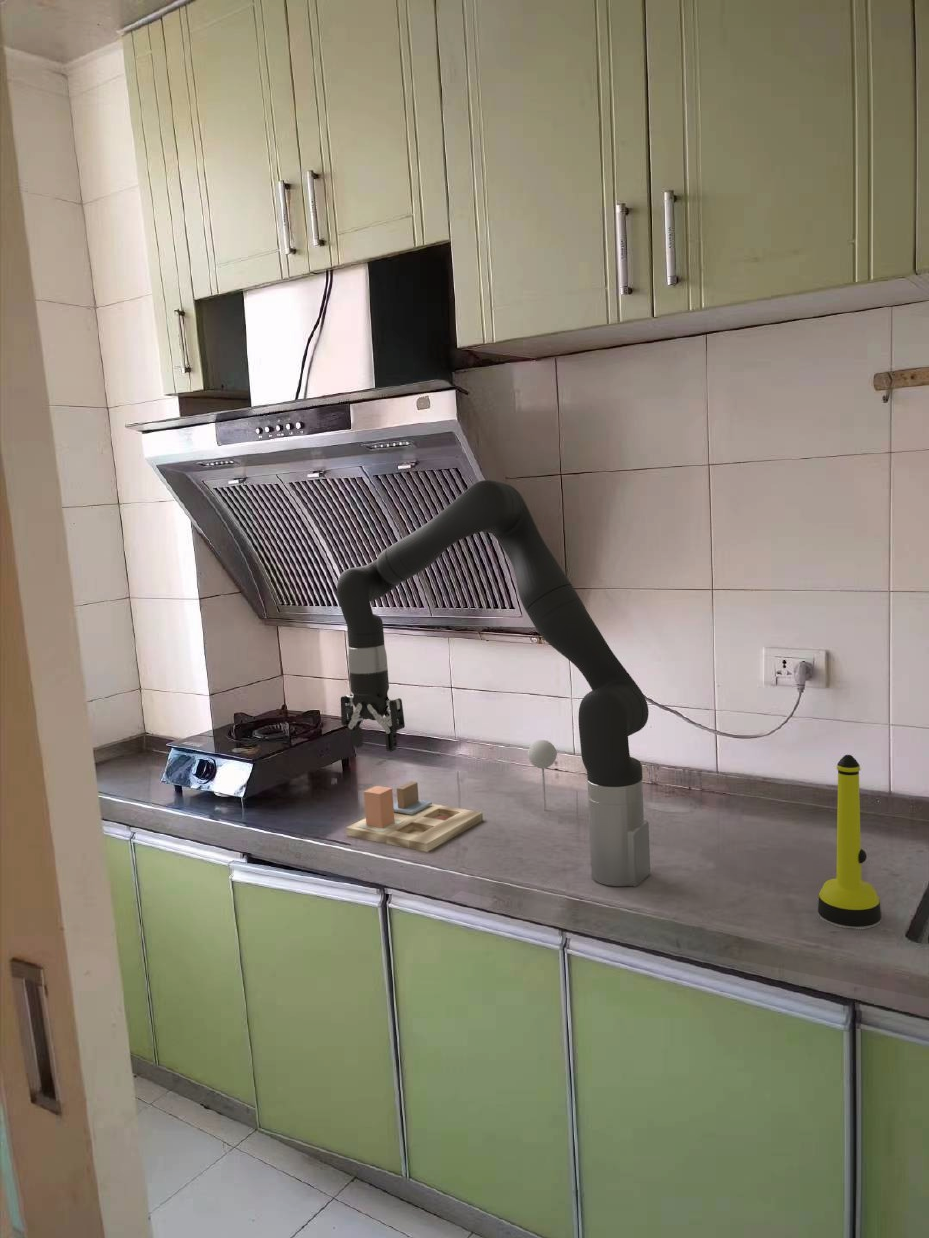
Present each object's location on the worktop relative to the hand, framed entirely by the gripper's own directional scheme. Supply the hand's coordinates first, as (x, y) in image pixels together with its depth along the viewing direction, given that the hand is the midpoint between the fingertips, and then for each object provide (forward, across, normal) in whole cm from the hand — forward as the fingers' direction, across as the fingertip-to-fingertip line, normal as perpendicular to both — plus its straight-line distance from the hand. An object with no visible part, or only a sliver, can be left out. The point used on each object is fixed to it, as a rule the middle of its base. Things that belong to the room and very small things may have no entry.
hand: (374, 748), depth 186 cm
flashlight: (+18, -88, -4) cm, 90 cm away
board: (+18, -5, -5) cm, 19 cm away
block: (+15, 0, 0) cm, 15 cm away
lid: (+15, +1, -10) cm, 18 cm away
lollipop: (+18, -23, -26) cm, 39 cm away
